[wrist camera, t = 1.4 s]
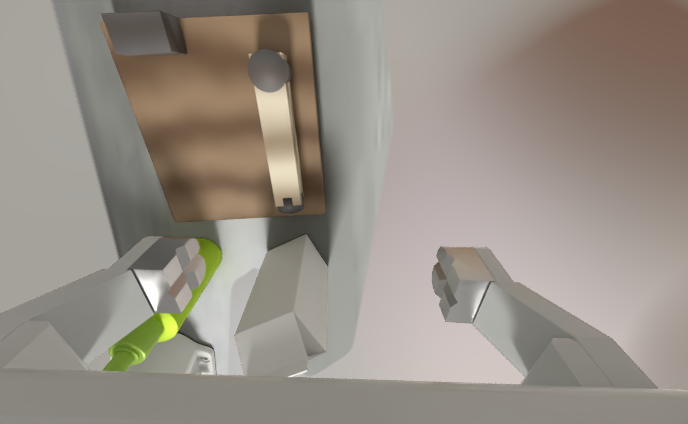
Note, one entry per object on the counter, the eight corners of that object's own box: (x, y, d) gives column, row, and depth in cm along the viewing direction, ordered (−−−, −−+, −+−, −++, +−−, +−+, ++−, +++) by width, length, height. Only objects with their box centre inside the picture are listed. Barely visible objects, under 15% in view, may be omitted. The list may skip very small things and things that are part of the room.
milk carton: (266, 251, 41) (218, 373, 24) (306, 233, 40) (286, 348, 23) (290, 282, 44) (263, 411, 27) (328, 266, 42) (325, 390, 26)
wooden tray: (325, 206, 38) (324, 224, 33) (184, 213, 37) (162, 234, 32) (309, 17, 28) (304, 4, 23) (118, 26, 27) (71, 14, 23)
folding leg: (253, 53, 27) (243, 49, 24) (289, 51, 27) (283, 48, 24) (279, 203, 34) (274, 215, 31) (307, 202, 34) (304, 213, 31)
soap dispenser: (169, 240, 39) (32, 374, 21) (215, 235, 39) (116, 366, 21) (184, 271, 42) (73, 414, 24) (227, 267, 42) (147, 406, 24)
